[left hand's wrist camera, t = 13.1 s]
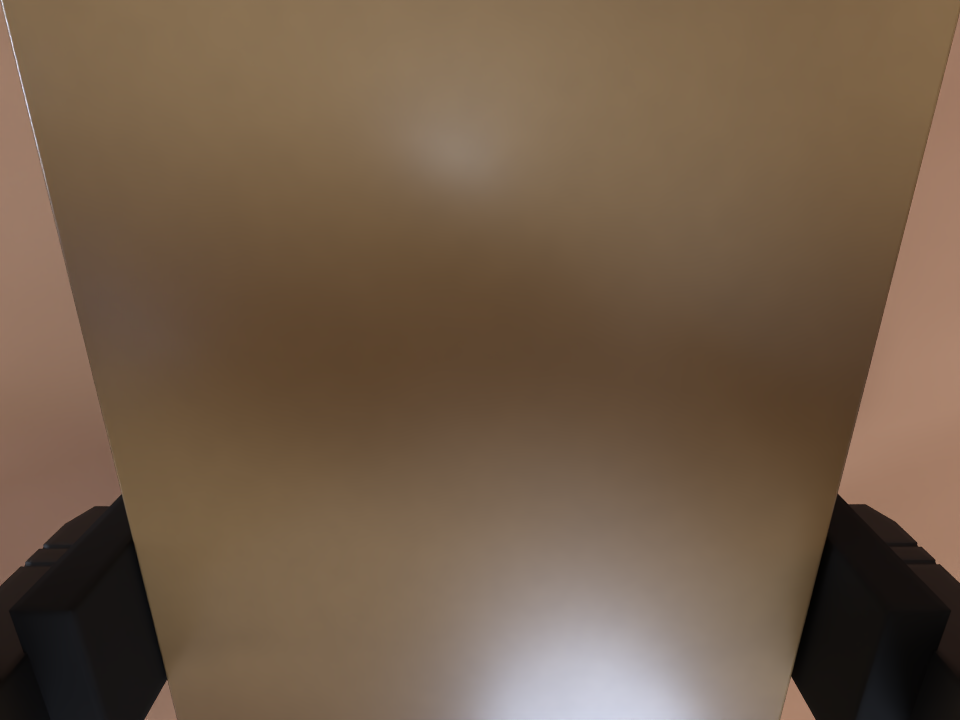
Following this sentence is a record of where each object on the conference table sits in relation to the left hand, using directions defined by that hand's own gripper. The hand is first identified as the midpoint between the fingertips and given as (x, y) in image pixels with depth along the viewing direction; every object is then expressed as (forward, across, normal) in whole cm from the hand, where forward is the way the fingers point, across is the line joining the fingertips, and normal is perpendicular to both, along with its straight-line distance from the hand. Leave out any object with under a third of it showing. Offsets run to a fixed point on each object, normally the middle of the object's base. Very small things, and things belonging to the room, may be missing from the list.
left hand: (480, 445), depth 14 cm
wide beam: (+1, 0, -19) cm, 19 cm away
